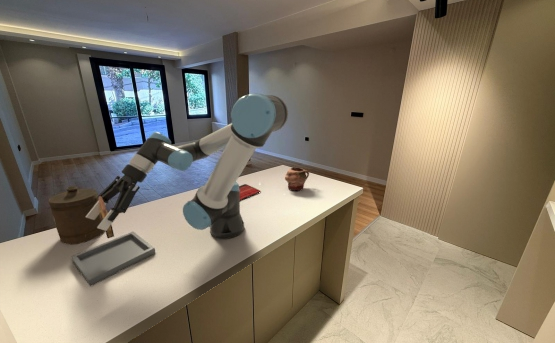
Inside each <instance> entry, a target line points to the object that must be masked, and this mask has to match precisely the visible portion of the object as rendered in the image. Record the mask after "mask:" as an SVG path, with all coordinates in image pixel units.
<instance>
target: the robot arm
mask: <svg viewBox="0 0 555 343" xmlns="http://www.w3.org/2000/svg"><path fill="white" fill-rule="evenodd" d="M230 117H231V118H230V119H231V122H230V123H229V124H227V125H225V126H223V127H222V128H219V129H217V130H216V131H213V132H212V133H210V134H208V135H206V136H204V137H202V138H200V139H198V140H196V141H194V142H190V143H186V144H181V145H173V144H172V141H171V139H170V138H169V137H167V136H166V135H165V134H163V133H160V132H158V131H153V132H152V133H151V134H150V135H149V136H148V137H147V138H146V140H145V141H144V142H143V144H142V145H141V146H140V148H139V149H138V150H137V152H135V153H134V155H132V157H131V158H130V160H129V161H128V163H129V164H126V165H125V166H124V167H123V168H122V170H121V173H122V174H123V176H120V175H117V176H116V177H115V178H114V179H113V181H112V182H110V184H109V185H107V186H106V188H104V189H103V190H102V191H101V192H100V193H99V194H97V195H98V198H99V196H101V197H102V199H103V202H104V204H105V207H106V206H107V204H109V201H110V200H112V198H114V197H115V196H116V195H118V194H119V195H118V196H117V200H116V201H115V204H114V207H111V208H110V210H109V212H108V214H107V215H106V216H105V218H104V219H103V220H102V222H101V223H100V224H99V226H98V227H97V228H98V229H102V230H105V231H106V230H107V229H108V228H109V226H110V225H113V223H114V221H115V220H116V219H117V217H118V216H119V214H125V213H127V211H128V209H129V207H130V205H131V203H132V201H133V200H134V198H135V196H136V193H137V192H139V190H140V186H139V185H137V183H143V182H144V180H145V179H146V178H147V176H148V174H149V173H150V172H151V170H153V169H154V167H155V166H156V164H157V163H158V162H160V163H162V164H165V165H166V166H168V167H170V168H172V169H175V170H178V171H180V172H181V171H182V172H185V171H187V170H188V168H190V167H191V166H192V164H193V162H195V161H199V160H204V159H205V158H208V157H210V156H211V155H213V154H215V153H217V152H220V151H222V150H223V151H222V153H221V154H220V157H219V158H218V161H217V162H216V165H215V166H214V168H213V170H212V172H211V173H210V175H209V177H208V179H207V181H206V183H205V184H203V185H202V186H200V187H199V188H198V190H196V193H195V194H194V197H193V198H192V199H191V200H188V201H187V202H185V203H184V205H183V206H182V215H183V217H184V219H185V221H186V222H187V223H188V225H190V226H191V227H192V228H193V229H195V230H201V231H203V230H206V229H207V228H209V229H210V230H209V232H210V234H211V235H212V236H213V237H214V238H217V239H221V240H222V239H223V240H224V239H225V240H226V239H227V240H228V239H232V238H236V237H238V236H240V235H241V234H242V233H243V232H244V230H245V222H244V219H243V217H242V214H241V211H240V210H241V207H240V205H241V204H240V203H241V201H240V194H239V191H240V190H239V186H240V184H239V183H238V182H237V180H238V179H239V178H240V176H241V174H242V172H243V171H244V170H245V168H246V166H247V165H248V163H249V161H250V159H251V157H252V156H253V155H254V153H255V151H256V149H258V148H259V149H261V148H263V147H264V145H265V144H266V142H268V139H269V137H270V136H271V134H272V133H273V132H276V131H279V130H280V129H282V128H283V127H284V126H285V125H286V123H287V121H288V118H289V110H288V107H287V104H286V103H285V101H284V99H282V98H280V97H278V96H277V95H270V94H262V93H258V92H257V93H250V94H246V95H243V96H241V97H239V98H238V100H237V101H236V102H235V103H234V104H233V106H232V108H231V114H230ZM100 212H101V211H100V204H99V201H98V202H97V203H96V204H95V206H94V207H93V208H92V209H91V211H90V212H89V213H88V214H87V216H86V217H87V218H90V219H93V220H95V219H96V217H97V216H98V215H99V213H100Z"/></svg>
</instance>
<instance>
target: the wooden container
mask: <svg viewBox="0 0 555 343" xmlns="http://www.w3.org/2000/svg"><path fill="white" fill-rule="evenodd" d="M98 195H99V194H98V193H97V190H96V189H93V188H80V189H79V187H78V186H76V185H70V186H69V185H68V187H66V191H64V192H60V193H58V194H55V195H53V196H51V197H50V198H49V199H48V203H49V206H50V210H51V214H52V218H53V221H54V225H55V228H56V231H57V235H58V237H59V239H60V240H59V241H60V242H61V243H62V244H64V245H78V244H82V243H86V242H88V241H89V242H90V241H91V240H94V239H95V238H98V237H100V236H101V235H102V234H104V233H106V232H105V230H102V229H98V228H97V227H98V226H99V224H100V223H101V222H102V217H101V212H100V213H99V215H98V216H97V217H96V219H95V220H93V219H90V218H87V217H86V216H87V214H88V213H89V212H90V211H91V209H92V208H93V207H94V206H95V204H96V203H97V202H98V201H99V197H98Z"/></svg>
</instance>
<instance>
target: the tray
mask: <svg viewBox="0 0 555 343" xmlns="http://www.w3.org/2000/svg"><path fill="white" fill-rule="evenodd" d="M154 254H156V248H155V246H153V245H152V244H150V243H149V242H148V241H146V240H145V239H144V238H142V237H141V236H140V235H139V234H137V233H136V232H134V231H131V232H128V233H126V234H123V235H120V236H118V237H116V238H114V239H110V240H109V241H106V242H103V243H101V244H98V245H96V246H94V247H91V248H89V249H86V250H83V251H80V252H78V253H76V254H74V255H71V256H70V258H71V260H72V263H73V265H74V266H75V267H76V269H77V270H78V272H79V273H80V274H81V275H82V278H84V281H85V282H86V283H87V284H88V285H89V287H93V286H94V285H96V284H98V283H101V282H102V281H104V280H106V279H108V278H110V277H112V276H113V275H116V274H119V273H120V272H121V271H124V270H126V269H127V268H129V267H131V266H133V265H135V264H137V263H139V262H141V261H143V260H146V258H149V257H150V256H153V255H154Z"/></svg>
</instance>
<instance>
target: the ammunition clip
mask: <svg viewBox="0 0 555 343" xmlns="http://www.w3.org/2000/svg"><path fill="white" fill-rule="evenodd" d="M98 199H99V204H100V211H101V217H102V220H103V219H104V218H105V216H106V215H107V214H108V213H109V212H108V210H107V207H106V206H105V204H104V202H103V199H102V197H101V196H99V197H98ZM112 225H113V224H111V225H110V226H109V228H108V229H107V230H106V231H105V232H104V233H105V234H106V238H107V239H110V238H113V237H115V233H114V230H113V226H112Z"/></svg>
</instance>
